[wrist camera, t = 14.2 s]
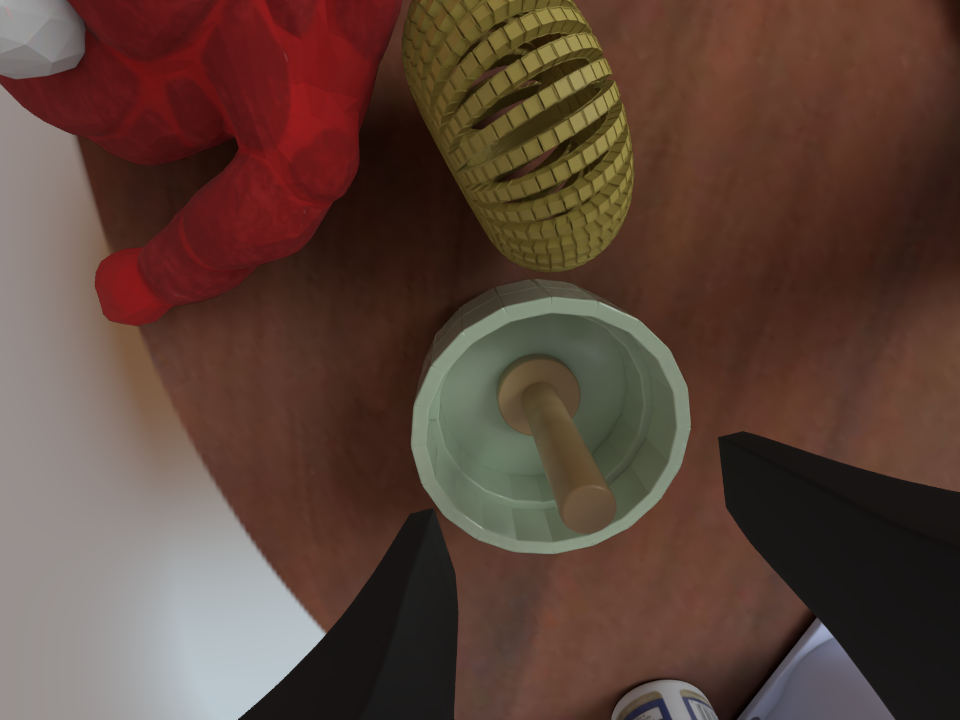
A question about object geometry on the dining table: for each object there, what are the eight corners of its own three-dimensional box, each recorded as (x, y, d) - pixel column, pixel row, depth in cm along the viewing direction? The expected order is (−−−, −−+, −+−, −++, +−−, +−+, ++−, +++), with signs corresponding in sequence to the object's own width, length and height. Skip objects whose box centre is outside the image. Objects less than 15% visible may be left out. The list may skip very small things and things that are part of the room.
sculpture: (392, 67, 16) (334, -61, 8) (498, -2, 16) (539, -201, 8) (507, 278, 18) (544, 327, 11) (602, 223, 18) (712, 234, 10)
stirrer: (508, 437, 20) (541, 580, 12) (486, 366, 19) (507, 473, 11) (583, 415, 20) (665, 546, 12) (565, 343, 19) (641, 435, 11)
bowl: (577, 511, 22) (607, 585, 17) (388, 441, 20) (370, 503, 16) (680, 331, 19) (743, 367, 15) (475, 239, 18) (481, 248, 14)
